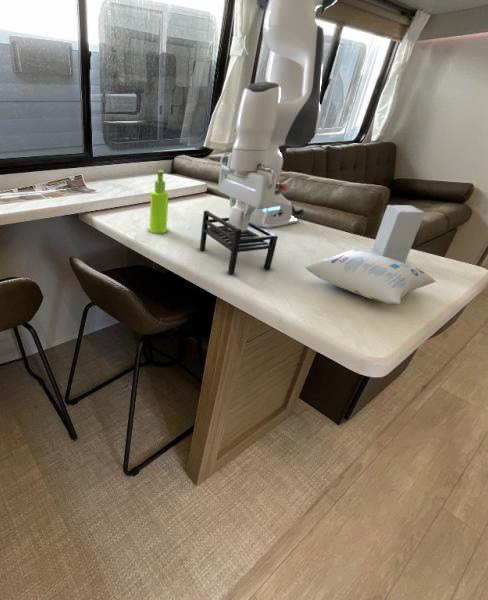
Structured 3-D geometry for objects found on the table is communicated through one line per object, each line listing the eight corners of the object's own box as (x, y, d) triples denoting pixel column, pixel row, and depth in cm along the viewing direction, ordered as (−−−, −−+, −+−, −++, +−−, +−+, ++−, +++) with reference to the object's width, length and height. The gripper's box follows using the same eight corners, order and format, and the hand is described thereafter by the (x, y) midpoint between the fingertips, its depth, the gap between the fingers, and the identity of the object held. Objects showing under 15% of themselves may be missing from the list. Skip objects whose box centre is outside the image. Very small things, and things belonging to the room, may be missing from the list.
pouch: (446, 264, 70) (351, 235, 84) (407, 290, 61) (308, 253, 76) (428, 295, 74) (341, 262, 88) (388, 323, 66) (299, 282, 80)
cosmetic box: (402, 268, 86) (428, 213, 79) (376, 265, 88) (399, 211, 80) (391, 256, 93) (414, 204, 85) (367, 254, 95) (387, 203, 87)
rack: (234, 245, 101) (240, 207, 95) (270, 269, 87) (280, 226, 80) (199, 249, 99) (203, 210, 93) (229, 275, 84) (237, 230, 78)
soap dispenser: (166, 227, 118) (169, 168, 107) (166, 233, 112) (169, 172, 102) (150, 226, 118) (151, 168, 108) (149, 233, 112) (151, 172, 102)
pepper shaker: (248, 230, 88) (254, 195, 83) (237, 233, 86) (243, 197, 81) (236, 226, 91) (242, 192, 86) (226, 229, 89) (232, 194, 84)
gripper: (288, 167, 71) (274, 228, 79) (238, 155, 88) (230, 206, 95) (263, 168, 70) (251, 230, 77) (217, 156, 87) (211, 208, 94)
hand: (239, 217), depth 86 cm, fingers closed on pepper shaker, 4 cm apart
